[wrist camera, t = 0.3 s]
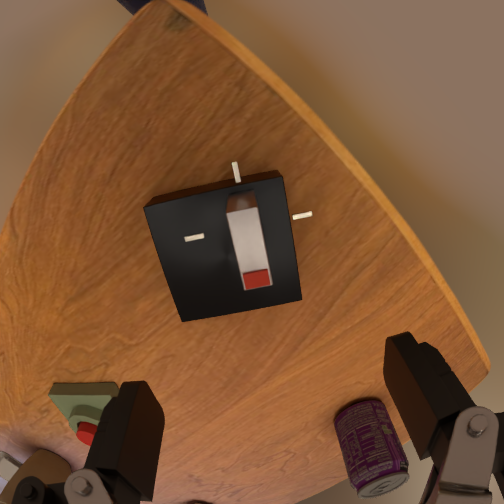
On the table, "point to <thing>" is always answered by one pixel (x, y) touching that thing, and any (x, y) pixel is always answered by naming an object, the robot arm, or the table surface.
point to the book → (8, 466)
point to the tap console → (222, 246)
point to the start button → (86, 432)
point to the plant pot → (38, 472)
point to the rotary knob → (248, 240)
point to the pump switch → (82, 401)
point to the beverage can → (371, 449)
